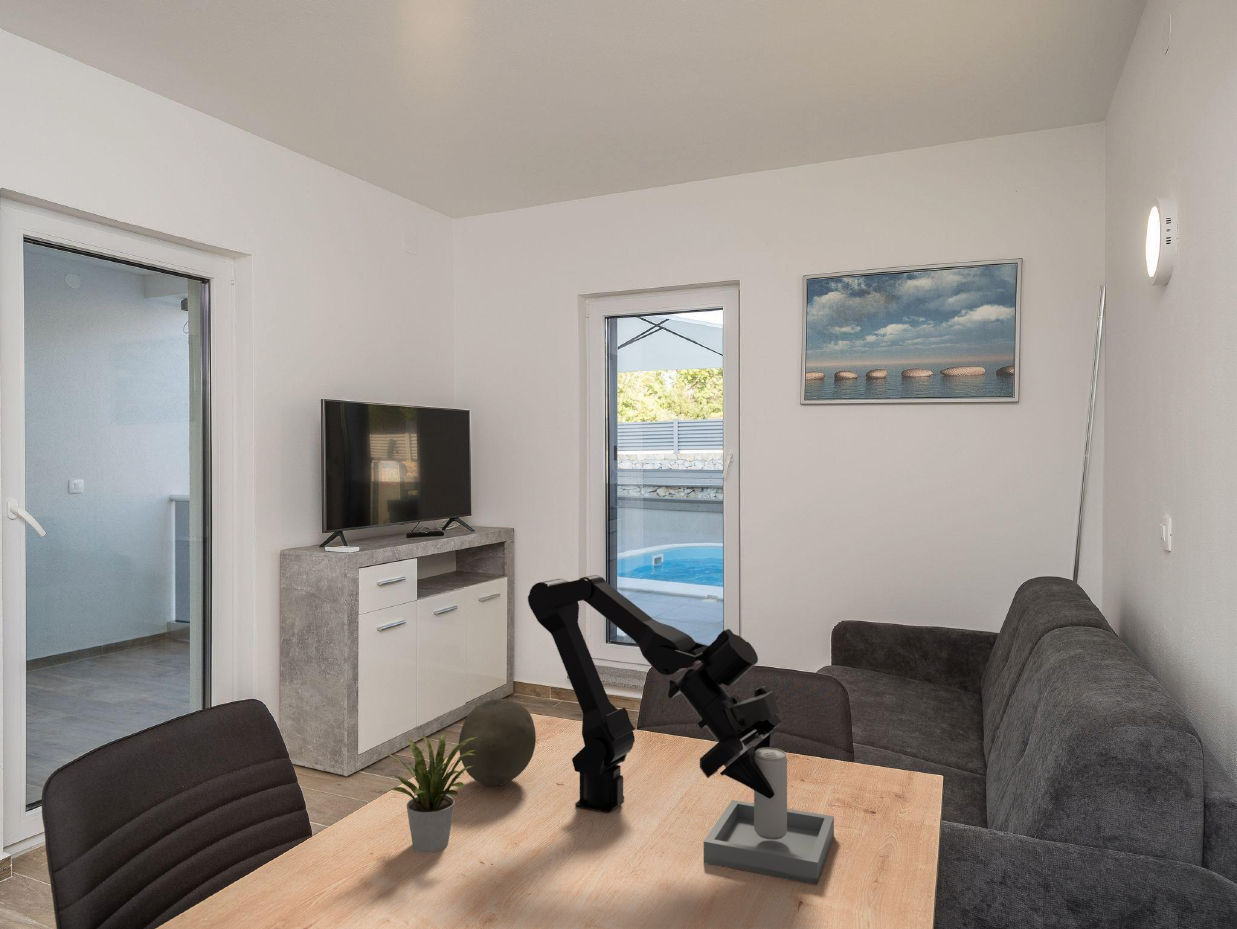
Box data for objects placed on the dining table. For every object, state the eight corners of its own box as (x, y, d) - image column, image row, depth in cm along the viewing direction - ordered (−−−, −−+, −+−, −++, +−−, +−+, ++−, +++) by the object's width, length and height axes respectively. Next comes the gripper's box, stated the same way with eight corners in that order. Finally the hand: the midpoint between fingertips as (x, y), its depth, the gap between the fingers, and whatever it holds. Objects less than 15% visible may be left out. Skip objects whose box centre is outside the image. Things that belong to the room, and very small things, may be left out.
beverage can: (793, 838, 117) (792, 757, 117) (762, 843, 116) (762, 760, 116) (777, 824, 122) (777, 745, 122) (748, 828, 120) (748, 749, 120)
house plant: (504, 831, 124) (504, 726, 124) (457, 873, 111) (458, 755, 111) (424, 818, 129) (424, 716, 129) (370, 857, 115) (371, 743, 116)
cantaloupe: (440, 787, 142) (441, 702, 142) (501, 765, 152) (501, 686, 153) (492, 808, 132) (493, 718, 133) (553, 784, 143) (554, 699, 143)
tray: (703, 862, 114) (703, 841, 114) (732, 818, 129) (732, 799, 129) (817, 885, 108) (817, 862, 108) (833, 835, 123) (833, 816, 123)
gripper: (720, 685, 113) (794, 781, 107) (770, 660, 129) (837, 742, 123) (670, 731, 117) (739, 825, 111) (724, 701, 133) (787, 782, 127)
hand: (778, 791), depth 118 cm, fingers closed on beverage can, 5 cm apart
